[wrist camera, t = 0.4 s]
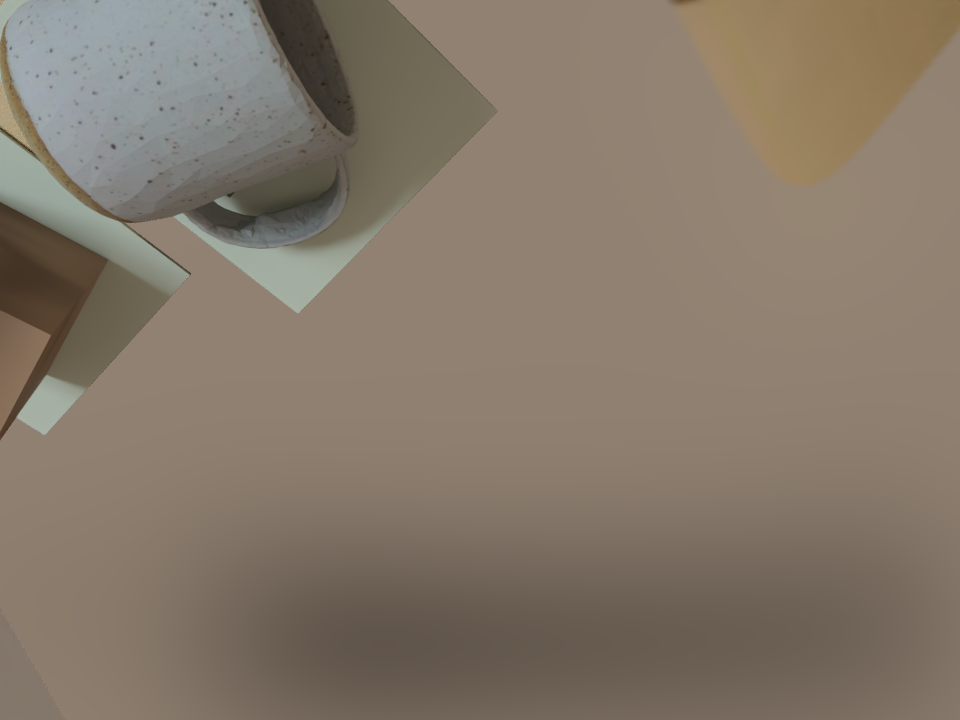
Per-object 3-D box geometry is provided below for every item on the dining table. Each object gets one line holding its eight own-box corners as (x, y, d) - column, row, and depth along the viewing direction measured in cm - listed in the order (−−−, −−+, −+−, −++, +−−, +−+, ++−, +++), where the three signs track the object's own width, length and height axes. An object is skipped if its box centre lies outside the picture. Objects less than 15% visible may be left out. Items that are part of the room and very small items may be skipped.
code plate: (-33, 54, 29) (-35, 55, 29) (164, -225, 26) (163, -225, 26) (298, 312, 35) (297, 314, 35) (497, 110, 31) (497, 111, 31)
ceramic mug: (35, -5, 28) (-77, 44, 22) (258, -123, 27) (211, -109, 21) (216, 266, 34) (170, 372, 27) (410, 178, 32) (411, 266, 26)
